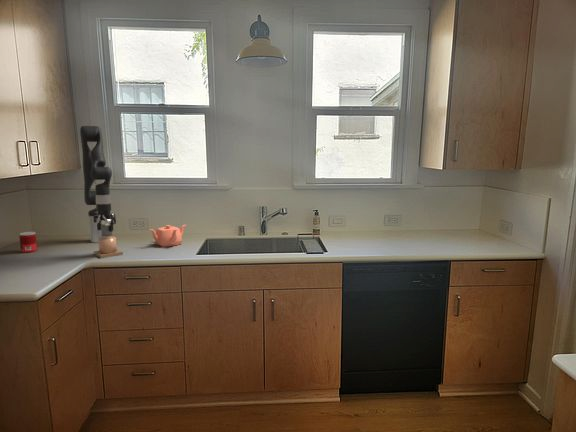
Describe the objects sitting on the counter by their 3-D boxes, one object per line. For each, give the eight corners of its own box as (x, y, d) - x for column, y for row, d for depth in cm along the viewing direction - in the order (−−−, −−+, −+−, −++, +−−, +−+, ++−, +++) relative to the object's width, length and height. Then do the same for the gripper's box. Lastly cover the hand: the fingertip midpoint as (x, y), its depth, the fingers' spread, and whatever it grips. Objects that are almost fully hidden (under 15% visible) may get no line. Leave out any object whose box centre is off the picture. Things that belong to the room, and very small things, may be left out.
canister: (93, 253, 217) (92, 233, 215) (115, 250, 225) (113, 230, 223) (100, 258, 209) (99, 237, 206) (122, 254, 217) (121, 234, 215)
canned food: (40, 250, 223) (38, 232, 221) (27, 253, 215) (25, 235, 214) (31, 249, 225) (29, 231, 223) (18, 252, 218) (15, 233, 216)
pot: (176, 248, 231) (175, 228, 229) (149, 247, 233) (148, 227, 231) (187, 241, 249) (186, 223, 247) (161, 240, 251) (161, 222, 249)
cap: (110, 236, 213) (110, 225, 212) (100, 236, 212) (99, 225, 211) (114, 233, 220) (113, 222, 219) (104, 233, 219) (103, 223, 218)
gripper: (88, 202, 210) (90, 230, 213) (107, 204, 205) (109, 233, 208) (99, 201, 217) (101, 228, 220) (118, 202, 212) (120, 230, 215)
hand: (105, 230), depth 214 cm, fingers open, 8 cm apart
